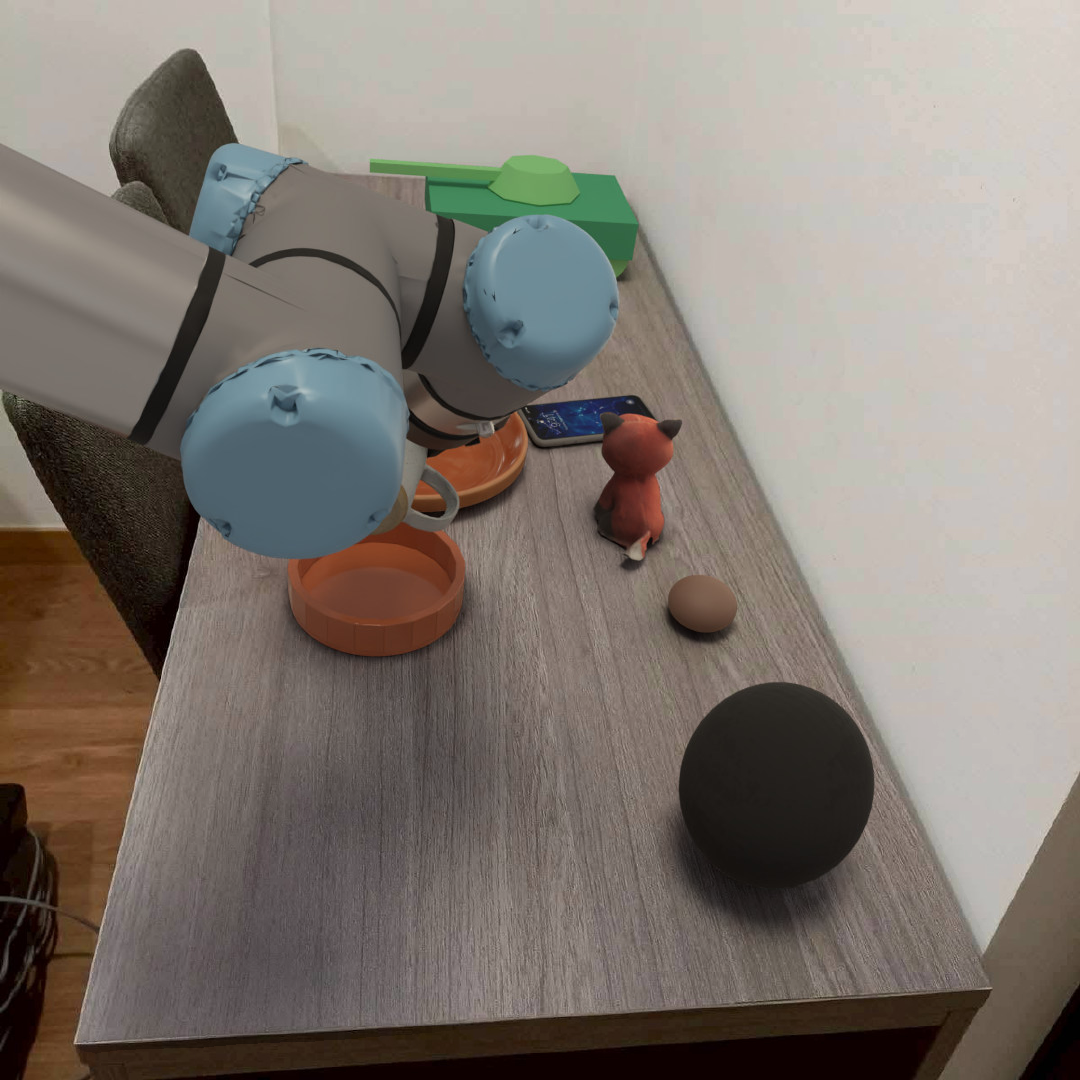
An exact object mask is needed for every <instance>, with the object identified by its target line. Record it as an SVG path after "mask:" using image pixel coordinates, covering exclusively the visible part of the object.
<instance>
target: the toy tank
mask: <svg viewBox="0 0 1080 1080" xmlns="http://www.w3.org/2000/svg"><path fill="white" fill-rule="evenodd" d="M369 173H372V174H385V175H400V176H401V175H402V176H414V177H415V176H416V177H425V179H424V206H425V210H426V211H428V212H431V213H434V214H436V215H437V214H438V215H440V216H443V217H445V218H448V219H450V218H453V219H455V220H458V221H461V222H463V223H466V224H469V225H471V226H474V227H477V228H479V229H482V230H484V231H487V232H489V231H493V229H494V227H496V226H499V225H502V224H504V223H505V222H507V221H510V220H512V219H514V218H517V217H522V216H527V215H546V214H547V215H552V216H556V217H560V218H562V219H565V220H567V221H569V222H571V223H573V224H575V225H577V226H578V227H580V228H581V229H583V230H584V231H585V232H586V233H588V234H589V235H590V236H591V237H592V238H593V239H594V240H595V241H596V242H597V244H598V245H599V246H600V247H601V249H602V250H603V251H604V253H605V255H606V256H607V258H608V260H609V262H610V264H611V266H612V268H613V271H614V273H615V277H616V278H618V277H619V276H621V274H623V272H624V271H625V269H627V266H628V263H629V261H633V259H634V252H635V246H636V240H637V236H638V230H639V225H640V224H639V222H638V220H637V218H636V216H635V214H634V212H633V210H632V207H631V206H630V204H629V201H628V200H627V198H626V195H625V193H624V191H623V189H622V187H621V185H620V183H619V181H618V179H617V176H616V175H614V174H613V175H612V174H601V173H600V174H599V173H588V172H587V173H586V172H585V173H583V172H572V171H571V170H570V167H569V166H568V165H567V164H565V163H563V162H562V161H560V160H559V159H557V158H552V157H547V156H542V155H538V154H537V155H536V154H528V155H527V154H525V155H524V154H523V155H512V156H510V157H508V159H506V160H505V161H504V162H503V164H502V165H501V167H500V166H487V165H486V166H484V165H471V164H456V163H454V164H453V163H442V162H441V163H440V162H429V161H428V162H427V161H426V162H424V161H410V160H397V159H383V158H369Z"/></svg>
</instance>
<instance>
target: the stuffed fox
mask: <svg viewBox="0 0 1080 1080" xmlns="http://www.w3.org/2000/svg"><path fill="white" fill-rule="evenodd" d="M600 419H601V421H602V426H603V430H604V434H603V441H602V444H601V449H600V451H601V456H602V459H603V460H604V461H605V463H606V465H607V466H608V467H609V468H610V469H611V471H613V474H612V476H611V477H610V479H609V480H608V481H607V482H606V484H605V486H604V487H603V489H602V491H601V493H600V495H599V497H598V499H597V501H596V502H595V505H594V506H593V507H592V511H594V514H595V517H596V520H597V531H598V532H599V534H600V535H601V536H604V537H605V538H607V539H608V540H609V541H611V542H612V541H613V542H615V543H616V544H617V545H620V546H622V547H624V548H625V551H623V552H621V555H624V556H625V557H627V558H628V559H631V560H634V561H636V562H638V561H642V560H644V559H645V557H646V551H647V543H648V542H649V540H650V538H651V539H652V545H654V544H655V543H656V541H659V540H660V537H659V536H660V535H661V533H662V531H663V530H664V526H665V516H664V514H663V511H662V501H661V489H660V484H659V480H658V479H657V475H656V474H657V473H658V472H660V471H661V470H663V468H665V467H666V466H667V465H668V464H669V463H670V462H671V461H672V459H673V456H674V444H673V439H674V438H676V436H677V435H678V434H679V432H680V430H681V428H682V425H683V420H682V419H680V418H673V419H672V418H671V419H664V420H662V421H661V422H660V421H659V422H660V423H659V422H657V421H656V420H654V419H651V418H648V417H645V416H641V415H637V414H623V415H621V416H618V415H617V414H615V413H612V412H605V413H602V414H600Z"/></svg>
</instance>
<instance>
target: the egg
mask: <svg viewBox="0 0 1080 1080" xmlns="http://www.w3.org/2000/svg"><path fill="white" fill-rule="evenodd" d="M667 603H668V609H669V611H670V613H671V615H672V617H673V618H674V619H675V620H676V621H677V622H678V623H679V624H680V625H682V626H683V627H685V628H687V629H689V630H692V631H694V632H698V633H714V632H715V633H716V632H719V631H721V630H724V629H725V628H727V627H729V625H730V624H731V623H733V621H734V619H735V618H736V615H737V613H738V602H737V598H736V596H735V594H734V592H733V590H732V589H731V588H730V587H729V585H727V584H726V583H724V582H723V581H722V580H720V579H718V578H716V577H713V576H712V575H711V576H710V575H706V574H692V575H691V574H690V575H688V576H684V577H682V578H680V579H679V580H677V581H676V582H675V583H674V584H673V585H672V587H671V588H670V590H669V593H668V596H667Z"/></svg>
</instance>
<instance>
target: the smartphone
mask: <svg viewBox="0 0 1080 1080" xmlns="http://www.w3.org/2000/svg"><path fill="white" fill-rule="evenodd" d="M516 412H517V413H518V415H519V416H520V418H521V419H522V421H523V423H524V425H525V428H526V431H527V434H528V435H529V437H530V439H531V440H532V442H533V443H534V444H535V445H536V446H538V447H541V448H548V447H558V446H566V445H574V444H584V443H585V444H586V443H592V442H593V443H594V442H603V434H604V430H603V426H602V421H601V419H600V414H602V413H605V412H612V413H615V414H617V415H618V416H621V415H623V414H637V415H641V416H645V417H648V418H651V419H654V420H656V421H657V422H659V423H660V421H659V420H658V418H657V417H656V416H655V414H654V413H653V412H652V410H651V408H649V406H648V405H647V403H646V402H645V401H644V400H643V398H642V397H640V396H639V395H636V394H626V395H615V396H604V397H593V398H584V399H574V400H566V401H565V400H563V401H555V402H554V401H553V402H543V403H534V404H533V403H531V404H527V405H526V406H524V407H522V408H521V409H520V410H518V411H516Z"/></svg>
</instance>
